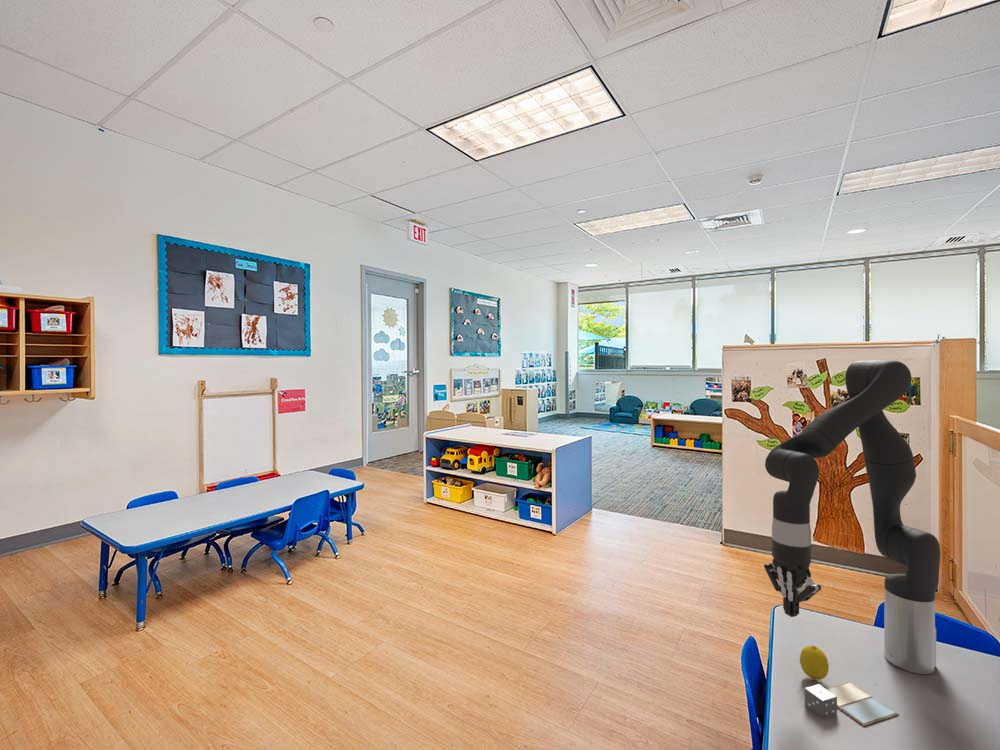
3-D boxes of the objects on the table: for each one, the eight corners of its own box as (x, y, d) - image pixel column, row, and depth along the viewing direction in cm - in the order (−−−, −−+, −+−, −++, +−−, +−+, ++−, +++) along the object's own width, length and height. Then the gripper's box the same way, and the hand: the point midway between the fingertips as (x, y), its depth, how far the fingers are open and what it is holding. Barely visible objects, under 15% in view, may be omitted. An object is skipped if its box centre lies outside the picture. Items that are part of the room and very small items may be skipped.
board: (849, 683, 105) (849, 681, 105) (898, 715, 96) (898, 713, 96) (816, 693, 103) (816, 691, 103) (863, 726, 93) (863, 724, 93)
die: (818, 701, 100) (818, 683, 100) (837, 715, 96) (837, 696, 96) (803, 705, 99) (803, 687, 99) (822, 720, 95) (822, 700, 95)
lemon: (833, 689, 104) (833, 654, 103) (806, 686, 105) (806, 651, 105) (821, 673, 109) (821, 640, 109) (795, 670, 110) (795, 637, 110)
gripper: (832, 547, 98) (832, 627, 99) (778, 527, 111) (778, 598, 111) (805, 552, 96) (805, 634, 96) (753, 530, 109) (753, 603, 109)
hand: (791, 614), depth 104 cm, fingers closed
